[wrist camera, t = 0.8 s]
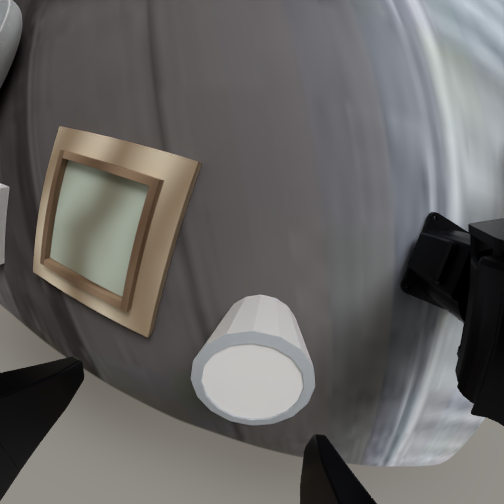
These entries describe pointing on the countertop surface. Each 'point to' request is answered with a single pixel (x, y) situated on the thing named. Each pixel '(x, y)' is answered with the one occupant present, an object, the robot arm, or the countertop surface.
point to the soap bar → (3, 218)
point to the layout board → (111, 223)
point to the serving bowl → (8, 35)
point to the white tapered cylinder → (255, 364)
